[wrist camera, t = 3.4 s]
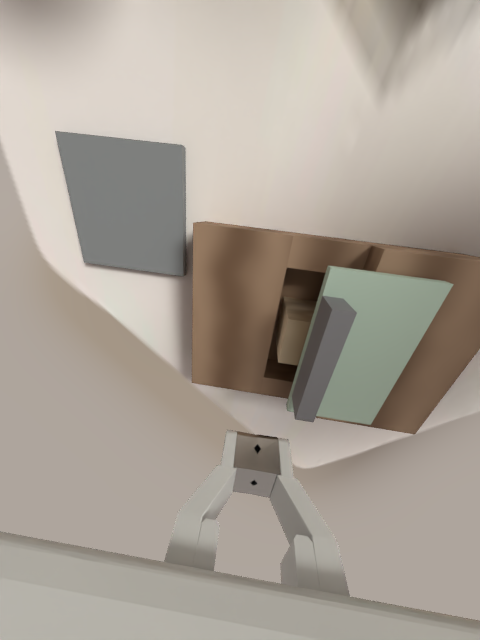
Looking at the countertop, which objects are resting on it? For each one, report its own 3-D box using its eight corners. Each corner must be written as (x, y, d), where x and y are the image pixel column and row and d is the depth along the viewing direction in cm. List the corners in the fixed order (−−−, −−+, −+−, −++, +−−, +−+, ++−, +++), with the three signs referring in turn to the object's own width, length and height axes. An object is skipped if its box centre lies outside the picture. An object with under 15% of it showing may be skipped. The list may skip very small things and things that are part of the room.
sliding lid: (444, 280, 15) (489, 297, 12) (367, 417, 21) (383, 450, 18) (327, 265, 15) (343, 277, 12) (286, 404, 21) (289, 434, 18)
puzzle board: (463, 254, 19) (539, 269, 14) (385, 390, 27) (414, 434, 22) (205, 221, 20) (184, 223, 15) (201, 361, 28) (186, 395, 23)
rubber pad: (185, 147, 18) (182, 145, 17) (186, 274, 23) (183, 276, 22) (63, 134, 19) (55, 131, 18) (89, 261, 24) (84, 262, 23)
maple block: (326, 302, 22) (343, 327, 17) (314, 338, 24) (327, 370, 19) (283, 296, 22) (288, 319, 17) (275, 332, 24) (278, 362, 20)
